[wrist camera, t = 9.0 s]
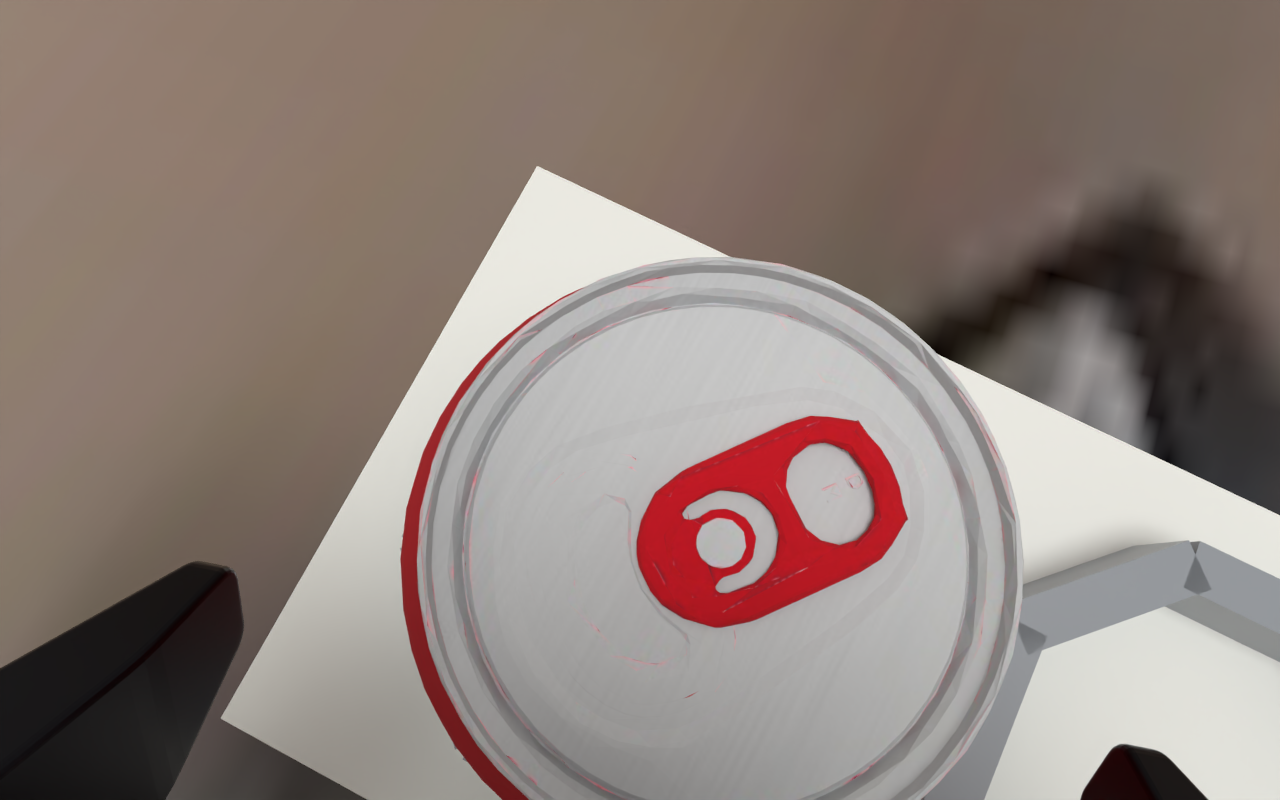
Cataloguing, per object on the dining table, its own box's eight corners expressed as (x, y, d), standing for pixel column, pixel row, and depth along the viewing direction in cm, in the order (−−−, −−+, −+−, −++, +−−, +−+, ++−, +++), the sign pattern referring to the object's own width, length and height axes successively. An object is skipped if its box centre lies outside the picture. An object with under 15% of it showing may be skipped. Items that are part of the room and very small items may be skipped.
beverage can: (476, 501, 20) (248, 355, 8) (732, 389, 20) (876, 98, 8) (589, 778, 18) (521, 1098, 7) (858, 651, 19) (1231, 738, 7)
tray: (1523, 648, 20) (1676, 657, 17) (1341, 1317, 17) (1486, 1464, 14) (541, 185, 22) (527, 122, 19) (241, 711, 20) (172, 733, 17)
